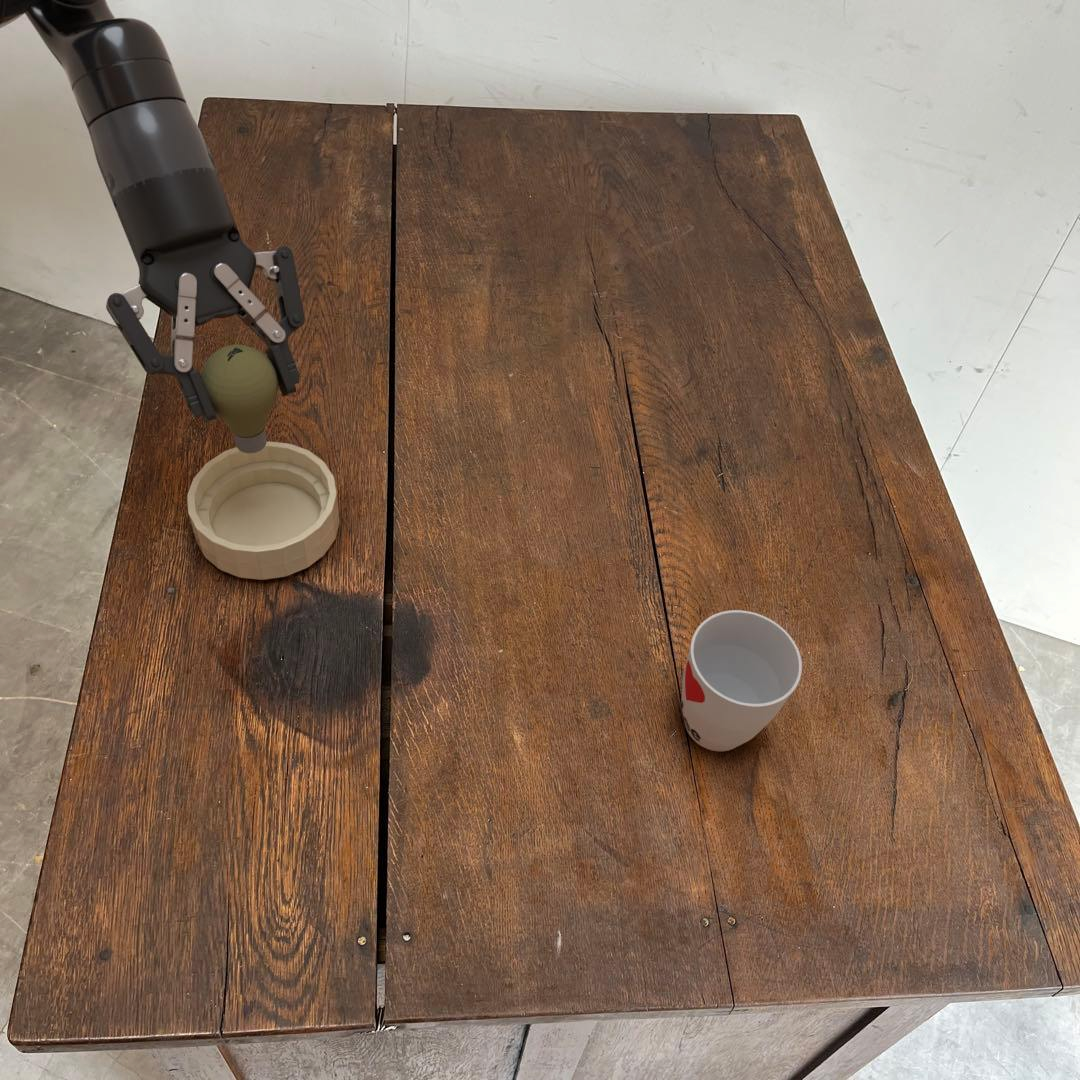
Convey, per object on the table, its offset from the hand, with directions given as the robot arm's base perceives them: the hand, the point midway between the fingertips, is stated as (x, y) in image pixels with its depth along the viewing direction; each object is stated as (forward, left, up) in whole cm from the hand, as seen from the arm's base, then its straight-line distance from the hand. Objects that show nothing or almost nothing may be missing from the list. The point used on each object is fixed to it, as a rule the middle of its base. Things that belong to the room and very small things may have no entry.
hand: (250, 406), depth 77 cm
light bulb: (0, +2, -6) cm, 7 cm away
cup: (+23, -33, -17) cm, 44 cm away
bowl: (0, +2, -16) cm, 16 cm away
